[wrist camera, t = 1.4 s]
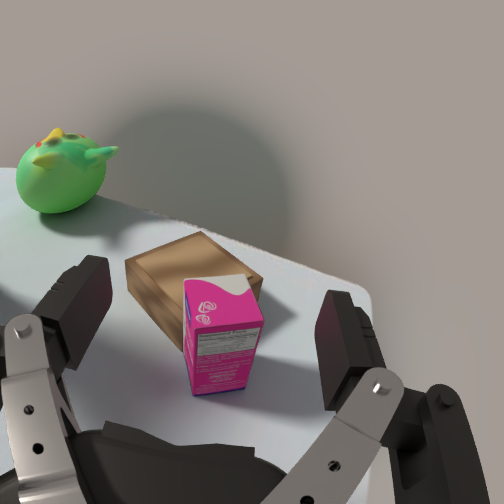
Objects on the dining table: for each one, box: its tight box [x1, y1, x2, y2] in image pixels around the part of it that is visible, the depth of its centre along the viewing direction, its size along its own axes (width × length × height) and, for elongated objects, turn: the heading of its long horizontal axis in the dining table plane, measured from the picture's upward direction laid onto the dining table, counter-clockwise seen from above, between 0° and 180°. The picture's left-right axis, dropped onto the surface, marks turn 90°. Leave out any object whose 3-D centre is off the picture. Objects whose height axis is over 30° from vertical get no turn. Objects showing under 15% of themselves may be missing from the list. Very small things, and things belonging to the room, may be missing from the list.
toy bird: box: [16, 128, 120, 213], centre depth 49 cm, size 18×17×15 cm
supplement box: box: [183, 274, 264, 396], centre depth 29 cm, size 6×6×12 cm
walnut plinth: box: [125, 231, 263, 352], centre depth 39 cm, size 12×12×5 cm
